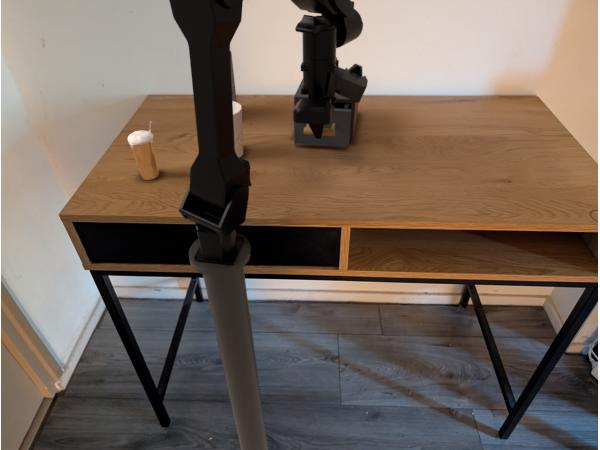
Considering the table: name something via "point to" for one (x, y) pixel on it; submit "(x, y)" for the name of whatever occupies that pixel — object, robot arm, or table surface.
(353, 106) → the cabinet
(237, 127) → the white cup
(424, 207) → the table surface
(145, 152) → the milkshake
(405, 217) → the table surface
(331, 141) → the drawer
